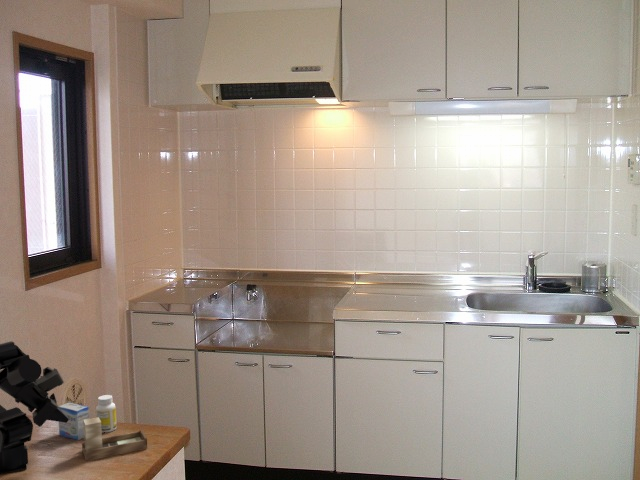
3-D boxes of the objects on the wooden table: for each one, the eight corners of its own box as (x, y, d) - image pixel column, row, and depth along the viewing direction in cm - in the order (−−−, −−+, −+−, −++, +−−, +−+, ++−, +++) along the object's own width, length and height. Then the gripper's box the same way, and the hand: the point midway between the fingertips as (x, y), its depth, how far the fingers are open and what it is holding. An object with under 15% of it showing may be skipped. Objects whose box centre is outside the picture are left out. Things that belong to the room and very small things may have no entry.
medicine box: (58, 435, 196) (57, 406, 195) (71, 430, 200) (69, 401, 199) (78, 440, 192) (76, 411, 191) (90, 435, 196) (89, 406, 195)
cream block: (87, 453, 181) (85, 425, 180) (84, 448, 184) (83, 419, 183) (102, 450, 183) (101, 422, 182) (100, 445, 186) (98, 417, 185)
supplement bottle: (110, 424, 204) (109, 392, 203) (120, 429, 200) (118, 396, 199) (93, 429, 200) (92, 397, 199) (103, 434, 196) (101, 401, 195)
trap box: (86, 460, 179) (85, 450, 179) (82, 450, 186) (81, 440, 185) (147, 448, 187) (146, 438, 186) (141, 439, 193) (141, 429, 192)
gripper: (45, 372, 167) (94, 408, 173) (39, 352, 183) (84, 385, 190) (12, 409, 164) (63, 443, 171) (9, 385, 181) (55, 417, 187)
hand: (67, 420), depth 180 cm, fingers closed
